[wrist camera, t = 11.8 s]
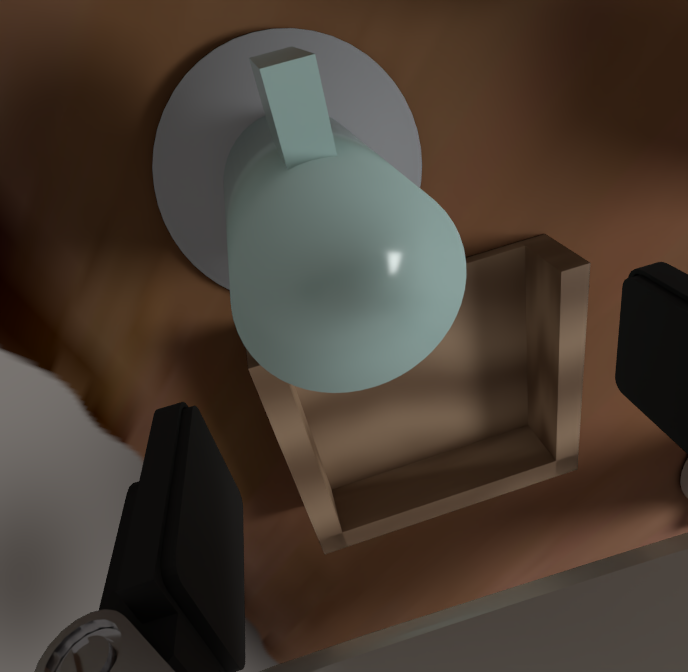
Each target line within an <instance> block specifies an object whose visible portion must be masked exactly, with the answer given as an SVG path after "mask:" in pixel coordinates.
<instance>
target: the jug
mask: <svg viewBox="0 0 688 672" xmlns="http://www.w3.org/2000/svg"><path fill="white" fill-rule="evenodd" d="M249 60H250V64H251V67H252V71H253V74H254V78H255V81H256V85H257V88H258V92H259V95H260V99H261V102H262V106H263V109H264V113H265V116H263V117H261V118H259V119H257V120H256V121H255V122H253V123H252V124H251V125H249V126H248V127H247V128H246V129H245V130H244V131H243V132H242V133H241V135H240V136H239V137H238V138H237V140H236V141H235V143H234V145H233V146H232V148H231V150H230V153H229V155H228V158H227V161H226V165H225V169H224V178H223V182H224V202H225V219H226V235H227V251H228V267H229V283H230V299H231V308H232V315H233V320H234V323H235V326H236V329H237V332H238V334H239V336H240V338H241V340H242V342H243V344H244V346H245V347H246V349H247V350H248V352H249V353H250V354H251V356H252V357H253V358H254V359H255V360H256V361H257V362H258V363H259V364H260V365H261V366H262V367H263V368H264V369H266V370H267V371H268V372H269V373H271V374H272V375H274V376H276V377H277V378H279V379H281V380H282V381H284V382H287V383H289V384H291V385H293V386H296V387H300V388H303V389H306V390H311V391H317V392H326V393H345V392H353V391H360V390H364V389H368V388H372V387H376V386H378V385H381V384H384V383H386V382H389V381H391V380H393V379H395V378H397V377H399V376H401V375H402V374H404V373H406V372H407V371H409V370H410V369H412V368H413V367H415V366H416V365H417V364H419V363H420V362H421V361H422V360H424V359H425V358H426V357H427V356H428V355H429V354H430V353H431V352H432V351H433V350H434V349H435V348H436V347H437V345H438V344H439V343H440V342H441V341H442V339H443V338H444V336H445V335H446V334H447V332H448V331H449V329H450V328H451V326H452V324H453V322H454V320H455V318H456V316H457V314H458V311H459V308H460V306H461V303H462V299H463V295H464V291H465V284H466V258H465V252H464V247H463V244H462V241H461V238H460V235H459V233H458V231H457V229H456V227H455V225H454V223H453V222H452V220H451V219H450V217H449V216H448V215H447V213H446V212H445V211H444V209H443V208H442V207H441V206H440V205H439V204H438V203H437V202H436V201H435V200H434V199H432V198H431V197H430V196H429V195H427V194H426V193H425V192H424V191H422V190H421V189H420V188H419V187H418V186H416V185H415V184H414V183H413V182H411V181H410V180H409V179H408V178H406V177H405V176H404V175H403V174H402V173H400V172H399V171H398V170H397V169H395V168H394V167H393V166H392V165H390V164H389V163H388V162H387V161H386V160H384V159H383V158H382V157H381V156H379V155H378V154H377V153H376V152H374V151H373V150H372V149H371V148H370V147H368V146H367V145H366V144H365V143H363V142H362V141H361V140H360V139H358V138H357V137H356V136H355V135H354V134H352V133H351V132H350V131H349V130H347V129H346V128H345V127H344V126H342V125H341V124H340V123H338V122H337V121H336V120H334V119H333V118H331V117H329V115H328V111H327V106H326V101H325V97H324V92H323V88H322V83H321V79H320V74H319V69H318V65H317V60H316V56H315V54H314V53H311V52H308V51H305V50H302V49H299V48H296V47H293V46H291V47H287V48H283V49H280V50H276V51H272V52H268V53H265V54H261V55H257V56H254V57H250V58H249Z"/></svg>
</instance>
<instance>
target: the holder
mask: <svg viewBox="0 0 688 672" xmlns="http://www.w3.org/2000/svg"><path fill="white" fill-rule="evenodd" d="M589 276H590V262H588V261H587V260H585V259H583V258H582V257H580V256H579V255H577V254H576V253H574V252H573V251H571V250H569V249H568V248H566V247H565V246H563V245H562V244H560V243H559V242H557V241H555V240H554V239H552V238H551V237H549V236H548V235H546V234H543V235H540V236H536V237H533V238H530V239H527V240H523V241H520V242H517V243H513V244H510V245H507V246H504V247H500V248H497V249H494V250H490V251H487V252H484V253H481V254H477V255H474V256H471V257H467V258H466V284H465V291H464V295H463V299H462V303H461V306H460V308H459V311H458V314H457V316H456V318H455V320H454V322H453V324H452V326H451V328H450V329H449V331H448V332H447V334H446V335H445V336H444V338H443V339H442V341H441V342H440V343H439V344H438V345H437V347H436V348H435V349H434V350H433V351H432V352H431V353H430V354H429V355H428V356H427V357H426V358H425V359H424V360H422V361H421V362H420V363H419V364H417V365H416V366H415V367H413V368H412V369H410V370H409V371H407V372H406V373H404V374H402V375H401V376H399V377H397V378H395V379H393V380H391V381H389V382H386V383H384V384H381V385H378V386H376V387H372V388H368V389H364V390H360V391H353V392H345V393H326V392H317V391H311V390H306V389H303V388H300V387H296V386H293V385H291V384H289V383H287V382H284V381H282V380H281V379H279V378H277V377H276V376H274V375H272V374H271V373H269V372H268V371H267V370H266V369H264V368H263V367H262V366H261V365H260V364H259V363H258V362H257V361H256V360H255V359H254V358H253V357H252V356H251V354H250V353H249V352H248V350H247V349H246V353H247V363H248V370H249V372H250V375H251V377H252V380H253V382H254V385H255V387H256V389H257V392H258V394H259V397H260V399H261V402H262V404H263V406H264V409H265V411H266V414H267V416H268V418H269V421H270V423H271V426H272V428H273V431H274V433H275V435H276V438H277V440H278V443H279V445H280V448H281V450H282V452H283V455H284V457H285V460H286V462H287V465H288V467H289V469H290V472H291V474H292V477H293V479H294V482H295V484H296V486H297V489H298V491H299V494H300V496H301V499H302V501H303V503H304V506H305V508H306V511H307V513H308V516H309V518H310V520H311V523H312V525H313V528H314V530H315V532H316V535H317V537H318V540H319V542H320V545H321V547H322V549H323V552H324V554H327V553H330V552H333V551H336V550H339V549H342V548H345V547H348V546H351V545H354V544H357V543H360V542H363V541H366V540H369V539H372V538H375V537H378V536H381V535H384V534H387V533H390V532H393V531H396V530H399V529H402V528H405V527H408V526H411V525H413V524H416V523H419V522H422V521H425V520H428V519H431V518H434V517H437V516H440V515H443V514H446V513H449V512H452V511H455V510H458V509H461V508H464V507H467V506H470V505H473V504H476V503H479V502H482V501H485V500H488V499H491V498H494V497H497V496H500V495H503V494H506V493H509V492H511V491H514V490H517V489H520V488H523V487H526V486H529V485H532V484H535V483H538V482H541V481H544V480H547V479H550V478H553V477H556V476H559V475H562V474H565V473H568V472H571V471H574V470H577V467H578V451H579V435H580V419H581V403H582V388H583V372H584V356H585V340H586V324H587V308H588V292H589Z"/></svg>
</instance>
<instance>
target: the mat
mask: <svg viewBox="0 0 688 672" xmlns="http://www.w3.org/2000/svg"><path fill="white" fill-rule="evenodd" d="M291 46H293V47H296V48H299V49H302V50H305V51H308V52H311V53H314V54H315V56H316V60H317V65H318V69H319V74H320V79H321V83H322V88H323V92H324V97H325V101H326V106H327V111H328V115H329V117H331V118H333V119H334V120H336V121H337V122H338V123H340V124H341V125H342V126H344V127H345V128H346V129H347V130H349V131H350V132H351V133H352V134H354V135H355V136H356V137H357V138H358V139H360V140H361V141H362V142H363V143H365V144H366V145H367V146H368V147H370V148H371V149H372V150H373V151H374V152H376V153H377V154H378V155H379V156H381V157H382V158H383V159H384V160H386V161H387V162H388V163H389V164H390V165H392V166H393V167H394V168H395V169H397V170H398V171H399V172H400V173H402V174H403V175H404V176H405V177H406V178H408V179H409V180H410V181H411V182H413V183H414V184H415V185H416V186H418V187H419V188H420V185H421V173H422V158H421V146H420V141H419V136H418V131H417V128H416V125H415V122H414V119H413V116H412V113H411V111H410V109H409V107H408V105H407V102H406V100H405V98H404V97H403V95H402V93H401V92H400V90H399V89H398V87H397V86H396V84H395V83H394V81H393V80H392V79H391V78H390V77H389V76H388V74H387V73H386V72H385V71H384V70H383V69H382V68H381V67H380V66H379V65H378V64H377V63H376V62H374V61H373V60H372V59H371V58H370V57H369V56H368V55H366V54H365V53H363V52H362V51H360V50H358V49H357V48H355V47H354V46H352V45H351V44H349V43H346V42H344V41H342V40H340V39H337V38H335V37H333V36H330V35H326V34H323V33H319V32H316V31H311V30H303V29H295V28H279V29H267V30H262V31H257V32H252V33H249V34H246V35H243V36H240V37H237V38H234V39H232V40H230V41H228V42H227V43H225V44H223V45H221V46H219V47H217V48H215V49H214V50H213V51H211V52H210V53H209V54H207V55H206V56H205V57H203V58H202V59H201V60H199V61H198V62H197V64H196V65H195V66H194V67H193V68H192V69H191V70H190V71H189V72H188V73H187V74H186V75H185V76H184V78H183V79H182V80H181V82H180V83H179V84H178V86H177V87H176V89H175V90H174V92H173V93H172V95H171V97H170V99H169V101H168V103H167V105H166V107H165V109H164V111H163V114H162V117H161V120H160V122H159V125H158V128H157V132H156V138H155V143H154V148H153V165H152V170H153V182H154V189H155V194H156V198H157V203H158V207H159V209H160V212H161V215H162V218H163V220H164V223H165V225H166V227H167V229H168V230H169V232H170V234H171V236H172V238H173V240H174V241H175V242H176V244H177V245H178V247H179V248H180V250H181V251H182V252H183V254H184V255H185V256H186V257H187V258H188V259H189V260H190V261H191V262H192V264H193V265H194V266H196V267H197V268H198V269H199V270H200V271H201V272H202V273H204V274H205V275H206V276H207V277H209V278H210V279H212V280H213V281H215V282H216V283H218V284H219V285H221V286H223V287H225V288H227V289H229V290H230V283H229V267H228V251H227V235H226V219H225V202H224V182H223V178H224V169H225V165H226V161H227V158H228V155H229V153H230V150H231V148H232V146H233V145H234V143H235V141H236V140H237V138H238V137H239V136H240V135H241V133H242V132H243V131H244V130H245V129H246V128H247V127H248V126H249V125H251V124H252V123H253V122H255V121H256V120H257V119H259V118H261V117H263V116H265V113H264V109H263V106H262V102H261V99H260V95H259V92H258V88H257V85H256V81H255V78H254V74H253V71H252V67H251V64H250V60H249V58H250V57H254V56H257V55H261V54H265V53H268V52H272V51H276V50H280V49H283V48H287V47H291Z"/></svg>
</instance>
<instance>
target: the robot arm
mask: <svg viewBox="0 0 688 672" xmlns="http://www.w3.org/2000/svg"><path fill="white" fill-rule="evenodd" d="M615 380H616V384H617V386H618V388H619V390H620V391H621V393H622V394H623V395H624V396H626V397H627V398H628V399H629V400H630V401H631V402H632V403H633V404H634V405H635V406H636V407H637V408H638V409H640V410H641V411H642V412H643V413H644V414H645V415H646V416H647V417H648V418H649V419H650V420H651V421H653V422H654V423H655V424H656V425H657V426H658V427H659V428H660V429H661V430H662V431H663V432H664V433H666V434H667V435H668V436H669V437H670V438H671V439H672V440H673V441H674V442H675V443H676V444H677V445H679V446H680V447H681V448H682V449H683V450H684V451H685V452H686V453H687V454H688V274H686V273H684V272H682V271H680V270H678V269H676V268H675V267H673V266H671V265H669V264H667V263H664V262H658V263H654V264H651V265H647V266H644V267H641V268H637V269H634V270H633V271H631V273H630V274H629V277H628V278H627V279H626V280H625V281H624V283H623V287H622V300H621V312H620V324H619V336H618V349H617V361H616V373H615ZM680 485H681V489H682V492H683V493H684V495H685V496H686V497H687V498H688V458H687V460H686V462H685V464H684V467H683V470H682V473H681V480H680ZM244 665H245V607H244V537H243V503H242V498H241V495H240V492H239V490H238V488H237V486H236V484H235V482H234V480H233V478H232V476H231V474H230V472H229V470H228V467H227V465H226V463H225V461H224V459H223V457H222V455H221V453H220V451H219V449H218V447H217V445H216V443H215V441H214V439H213V437H212V435H211V433H210V431H209V429H208V427H207V425H206V423H205V421H204V419H203V417H202V415H201V413H200V411H199V409H198V408H197V407H196V406H192V407H188V406H187V404H186V403H185V402H181V403H177V404H174V405H170V406H167V407H164V408H160V409H157V410H156V411H155V413H154V417H153V421H152V426H151V430H150V435H149V439H148V444H147V449H146V453H145V458H144V462H143V467H142V472H141V476H140V481H139V482H135V483H133V484H132V485H131V486H130V487H129V489H128V492H127V496H126V499H125V504H124V508H123V512H122V516H121V520H120V524H119V528H118V533H117V537H116V541H115V545H114V550H113V554H112V558H111V562H110V566H109V570H108V574H107V578H106V583H105V587H104V591H103V595H102V599H101V603H100V608H99V611H95V612H91V613H89V614H87V615H85V616H83V617H81V618H79V619H77V620H75V621H74V622H73V623H71V624H70V625H69V626H68V627H66V628H65V629H64V630H63V631H61V632H60V634H59V635H58V636H57V637H56V638H55V639H54V640H53V641H52V642H51V643H50V645H49V646H48V647H47V649H46V651H45V652H44V654H43V655H42V657H41V658H40V660H39V662H38V664H37V667H36V669H35V672H236V671H239V670H242V669H243V668H244ZM260 672H688V533H684V534H681V535H678V536H675V537H671V538H668V539H665V540H662V541H659V542H656V543H652V544H649V545H646V546H643V547H640V548H636V549H633V550H630V551H627V552H624V553H621V554H617V555H614V556H611V557H608V558H605V559H602V560H598V561H595V562H592V563H589V564H586V565H582V566H579V567H576V568H573V569H570V570H567V571H564V572H560V573H557V574H554V575H551V576H548V577H545V578H541V579H538V580H535V581H532V582H529V583H526V584H523V585H519V586H516V587H513V588H510V589H507V590H504V591H500V592H497V593H494V594H491V595H488V596H485V597H482V598H479V599H476V600H472V601H469V602H466V603H463V604H460V605H457V606H454V607H451V608H448V609H444V610H441V611H438V612H435V613H432V614H429V615H426V616H423V617H420V618H417V619H413V620H410V621H407V622H404V623H401V624H398V625H395V626H392V627H389V628H385V629H382V630H379V631H376V632H373V633H370V634H367V635H364V636H361V637H358V638H355V639H352V640H349V641H346V642H343V643H340V644H337V645H334V646H331V647H328V648H326V649H323V650H320V651H317V652H314V653H311V654H308V655H305V656H302V657H299V658H296V659H293V660H290V661H287V662H284V663H282V664H279V665H276V666H273V667H270V668H268V669H265V670H262V671H260Z"/></svg>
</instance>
